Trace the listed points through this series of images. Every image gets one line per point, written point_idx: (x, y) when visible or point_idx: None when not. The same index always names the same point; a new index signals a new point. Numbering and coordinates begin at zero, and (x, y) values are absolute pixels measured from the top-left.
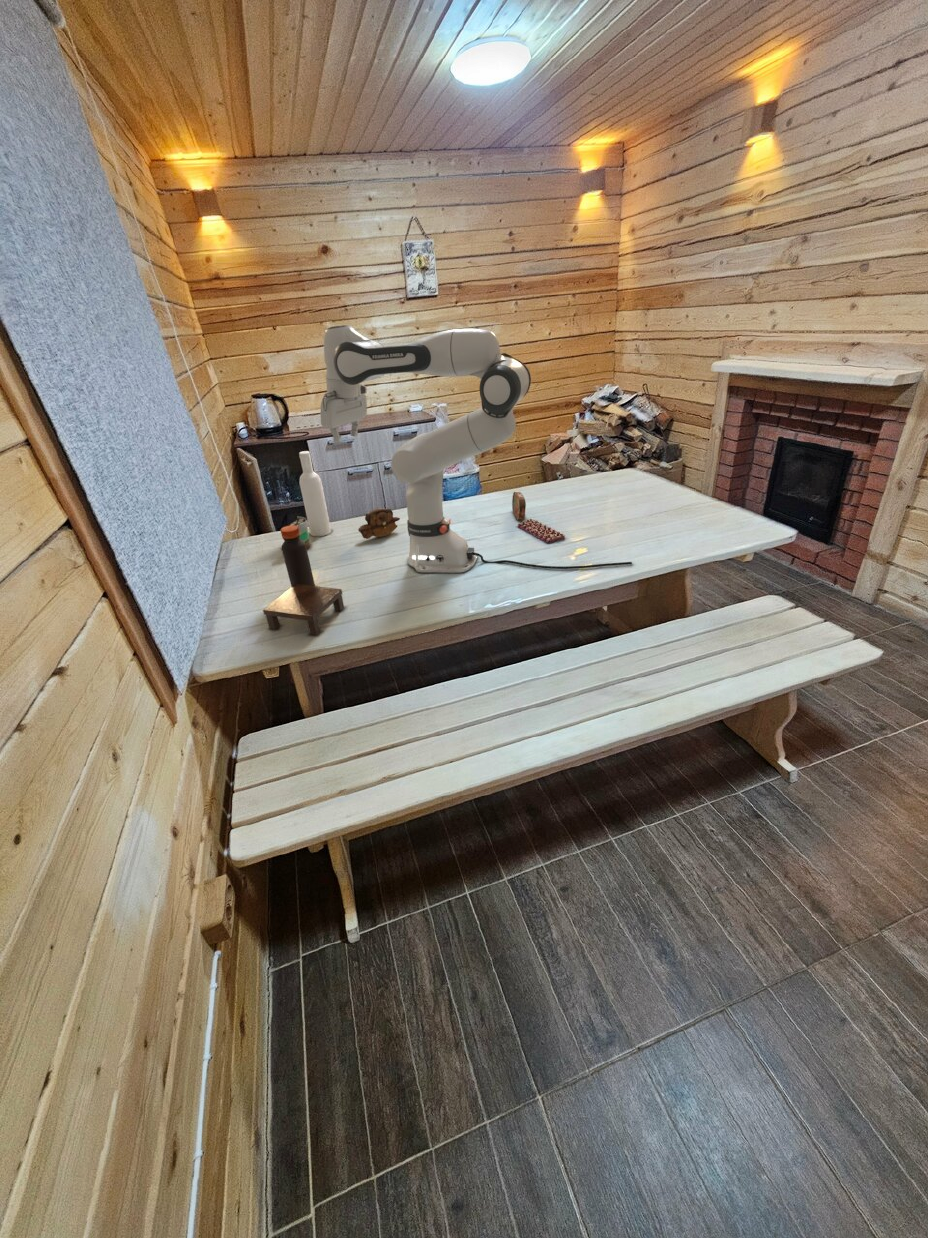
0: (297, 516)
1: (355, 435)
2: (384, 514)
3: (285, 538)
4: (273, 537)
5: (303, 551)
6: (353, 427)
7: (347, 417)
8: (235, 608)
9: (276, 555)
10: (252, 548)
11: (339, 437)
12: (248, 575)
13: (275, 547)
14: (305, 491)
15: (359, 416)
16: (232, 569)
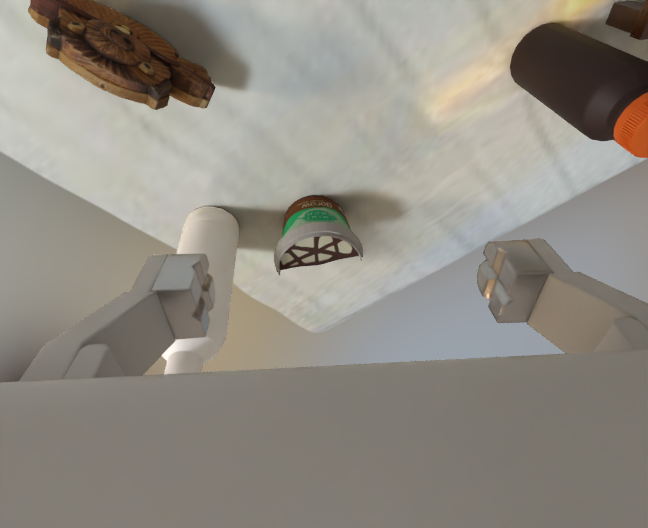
0: (279, 274)
1: (199, 254)
2: (101, 37)
3: None
4: (278, 292)
5: (635, 58)
6: (150, 343)
7: (501, 458)
8: (600, 156)
9: (357, 236)
10: (337, 292)
11: (547, 263)
12: (454, 225)
13: None
14: (227, 314)
15: (9, 431)
16: (430, 265)
